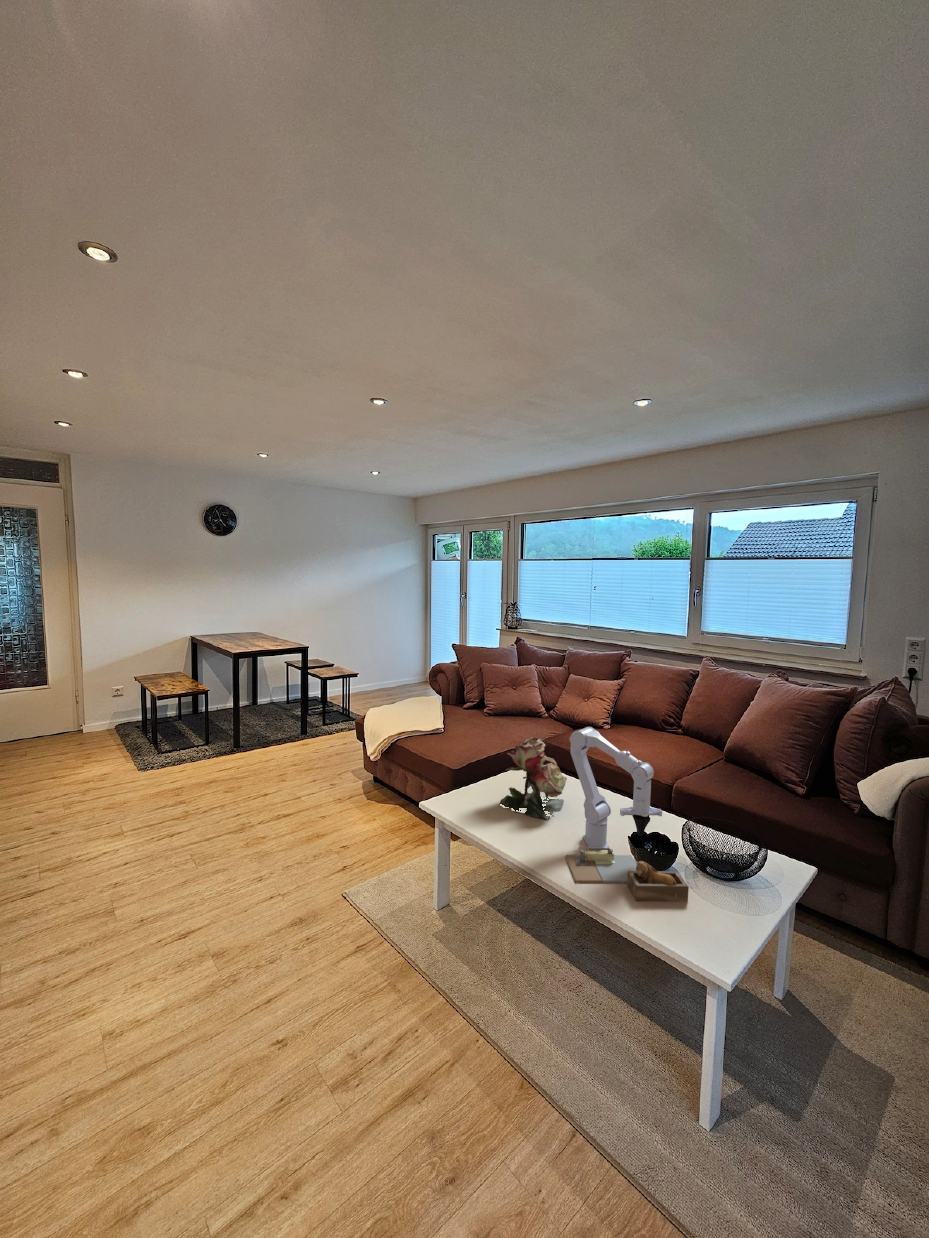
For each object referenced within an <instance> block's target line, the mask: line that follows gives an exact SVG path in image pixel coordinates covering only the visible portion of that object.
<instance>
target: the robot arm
mask: <svg viewBox="0 0 929 1238" xmlns="http://www.w3.org/2000/svg"><path fill="white" fill-rule="evenodd" d="M569 743H570V752H569V753H570V755H571V759H572V761H573V764H574V767H575V770H576V773H577V775H578V776H577V777H578V780H579V782H580V785H581V788H582V791H583V794H584V797H585V799H584V802H583V808H584V818H585V831H584V832H585V834H584V835H582V837H583V840H584V841H585V842H584V843H585V844H586V846H587V848H588V849H593V850H596V849H599V850H601V849H602V850H603V849H607V850H608V849H611V848H610V845H609V843H608V842H607V833H608V831H607V830H608V818H609V816H610V815H611V813H612V809H611V806H610V804H609V803H608V802H607V801H606V798H605V796H604V795H603V794H601V793H600V791H599V789H598V786H597V783H596V780H595V777H594V773H593V770H592V768H591V765H590V763H589V759H588V756H587V752H588V750H589V748H597V749H599V750H601V751H602V752H604V753H605V754H607V755H609V756H610V757H612V758H613V759H614V760H615V763H616V764H617V765H618V766H619V767H620V768H621V769H623V770H625V771H626V772H627V773H628V774H630V775H631V778H632V779H633V799H632V806H630V807H629V806H628V807H621V808H619V815H620V816H621V817H625V816H631V817H632V818H633V821H634V824H635V828H636V833H637V835H638V836H639V837H643V836H644V833H645V830H646V828H647V826H648V824H649V823H650V822H651V817H650V816H658V817H663V811H662V809H661V808H654V807H651V793H652V792H651V789H652V778H653V777H654V775H655V770H654V767H653V766H652V765H651V764H650V763H649V762H646V761H645V762H643V761H642V760H639V759H638V758H636V757H635V756H634V755H632V753H631V752H630V751H629V750H619V748H617V747H616V746H615V745H614V744H612V743H611V742H610V741H608V740H607V739H606V738H605V737H604V736H602V735H601V734H600V732H599V731H598V730H597V729H595V728H593V727H592V726H586V727H584V728H582V729H579V730H575V731H574V732H573V731H572V733H571V735H570V737H569Z"/></svg>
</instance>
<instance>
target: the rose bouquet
mask: <svg viewBox="0 0 929 1238" xmlns="http://www.w3.org/2000/svg"><path fill="white" fill-rule="evenodd" d="M519 743H520V744H522V745H515V746H514V749H515V750H516V751H514V750H511V752H507V753H506V754H507V756H510V757H511V758H512V761H513V763H515V765H516V767H512V766H511V767H507V768H506V769H505V771H514V772H515V771H523V772H525V776H523V777H522V779H523V780H524V779H525V781H524V793H522V791H520V790H517V789H516V787H512V786H510V787H509V788H508V790H509V793H510V795H509V794H507V795H505V797H503V798H501V799H500V802H499V804H502V805H504V806H505V807H509V808H513V809H514V810H515V811H516V810H518V811H519V808H527V811H526V812H525V814H524V815H527V816H530V817H533V818H538V819H540V818H543V819H545V820H547V821H548V820H550V819H551V818H555V815H554V812H553V811H555V812H561V810H562V808H563V806H564V802H565V800H564V799H562V798H561V799H560V798H558V799H549V798H548V797H555V798H557V797H558V796H560V795H562V794H563V790H564V789H565V786H566V783H567V779H568V778H567V777H566V776H564V774H563V773H562V772H561V770H560V767H559V766H558V763H557V761H556V760H555V758H551V757H548V756H547V755H546V752H544V751H545V749H546V744H545V742H543V741H542V739H541V738H540V737H537V736H534V737H530V738H527V739H525V741H524V742H523V741H522V740H519ZM529 788H531V789H532V792H530V793H529V792H528V789H529ZM541 793H544V795H545V796H544V797H546V799H544V800H543V801H548V802H546V803H545V802H542V799H541ZM547 798H548V799H549V800H547ZM559 799H560V800H559ZM542 804H546V806H544V807H543V806H542ZM543 808H545V809H544V810H543ZM520 811H521V810H520ZM544 811H548V812H550V813H548V814H550V815H552V814H553V815H552V816H551V817H550V816H546V815H547V814H545V812H544ZM548 818H550V819H548Z"/></svg>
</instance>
